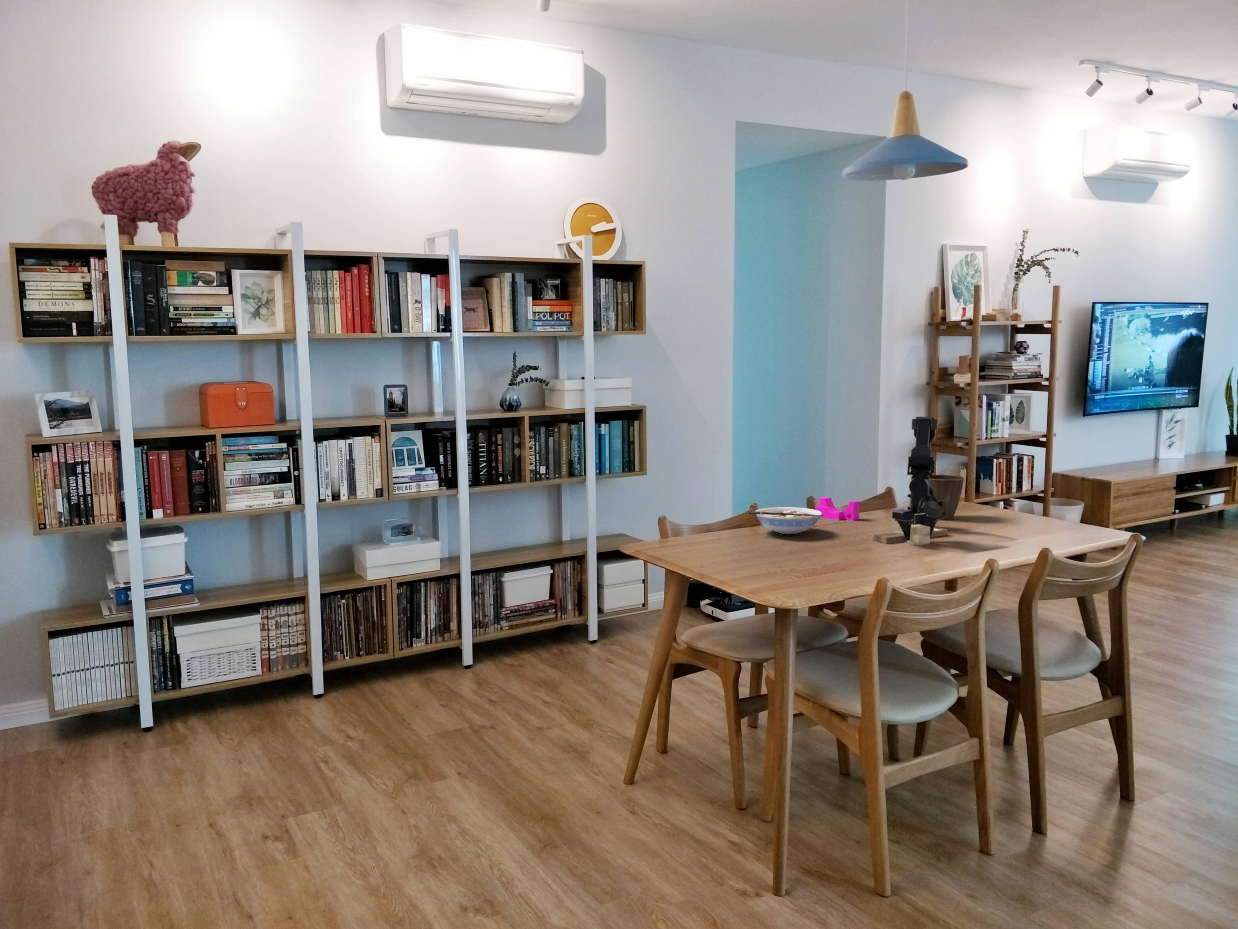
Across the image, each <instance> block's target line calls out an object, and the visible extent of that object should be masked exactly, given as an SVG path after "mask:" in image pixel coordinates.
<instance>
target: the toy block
mask: <svg viewBox="0 0 1238 929" xmlns="http://www.w3.org/2000/svg"><path fill="white" fill-rule="evenodd" d="M814 508H815V509H814V510H817V511H821V513H822V515H824V516H821V517H820V519H828V520H834V519H842V520H844V519H846V520H845V521H852V522H854V521H859V520H860V500H852V501H849V502H848V505H847V507H846V508H845V510H843V511H842V510H839V509H838V508H837V507H835V504H834V503H833V499H832V497H828V496H823V497H819V505H816V506H814Z"/></svg>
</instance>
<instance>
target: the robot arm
mask: <svg viewBox="0 0 1238 929" xmlns="http://www.w3.org/2000/svg"><path fill="white" fill-rule="evenodd" d="M938 424H939V420H938V419H936V418H935V416H915V418H911V430H912V431H913V436H914V437H915V447H913V448H912V449H910V450H911V451H910V455H909V456H908V459H907V460H908V461H907V472H906V473H907V476H911V477H910V482H909V485H908V488H909V492H910V493H908V494H907V498H909V506H906V507H907V508H906V509H904V508H898V509H894V510H893V511H892V513H891V514H892V515H891V518H892V519H894V521H895V522H897V523H898V525H899V528H900V530H901V531H903V534H904V536H905V538H906V540H907V541H910V535H911V525H923V526H928V527H930V537H931V535H932V532H933V529H934V527H936V524H937V523H938V521H941V520H940V519H942V518H943V517H941V516H946V502H945V501H939V502H937V499H936V496H934V490H933V488H932V486H931V485H930V483H929V478H930V476H932V475H933V474H935V469H936V468H935V467H936V460H935V457H934V456H932V450H931V442H932V441H933V439H934V438H935V436H936V431H938V427H939V426H938Z"/></svg>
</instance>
